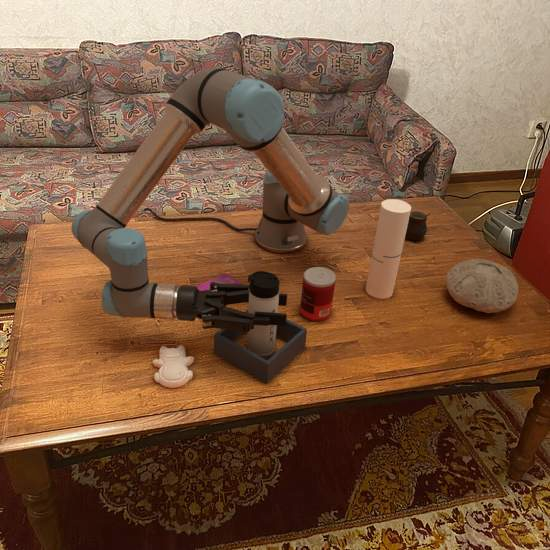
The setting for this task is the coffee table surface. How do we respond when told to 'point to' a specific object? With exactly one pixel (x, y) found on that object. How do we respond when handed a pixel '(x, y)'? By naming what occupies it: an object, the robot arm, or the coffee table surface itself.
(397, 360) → the coffee table surface
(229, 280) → the smartphone
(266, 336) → the travel mug
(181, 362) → the white animal figurine
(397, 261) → the cylindrical container
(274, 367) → the frame
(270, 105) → the robot arm
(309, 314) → the canned food
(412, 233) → the mate gourd
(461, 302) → the decorative shell
